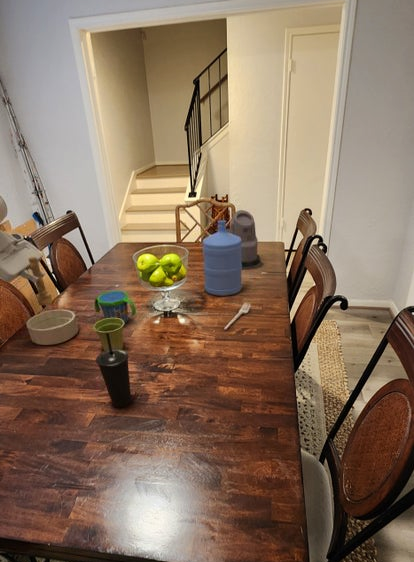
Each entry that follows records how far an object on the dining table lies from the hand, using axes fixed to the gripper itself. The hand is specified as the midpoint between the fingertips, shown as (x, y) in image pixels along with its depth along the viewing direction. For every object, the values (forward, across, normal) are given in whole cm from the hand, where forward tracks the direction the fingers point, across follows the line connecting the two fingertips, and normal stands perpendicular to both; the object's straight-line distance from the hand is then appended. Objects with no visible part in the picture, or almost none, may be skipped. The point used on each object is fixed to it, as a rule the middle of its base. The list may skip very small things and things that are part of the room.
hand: (40, 278), depth 117 cm
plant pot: (+31, -8, -1) cm, 32 cm away
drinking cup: (+38, -35, -9) cm, 52 cm away
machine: (+59, +80, -29) cm, 103 cm away
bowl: (+14, +1, +15) cm, 21 cm away
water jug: (+54, +40, -25) cm, 72 cm away
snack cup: (+28, +10, +2) cm, 30 cm away
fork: (+59, +13, -29) cm, 67 cm away
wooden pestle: (+6, 0, +6) cm, 8 cm away
